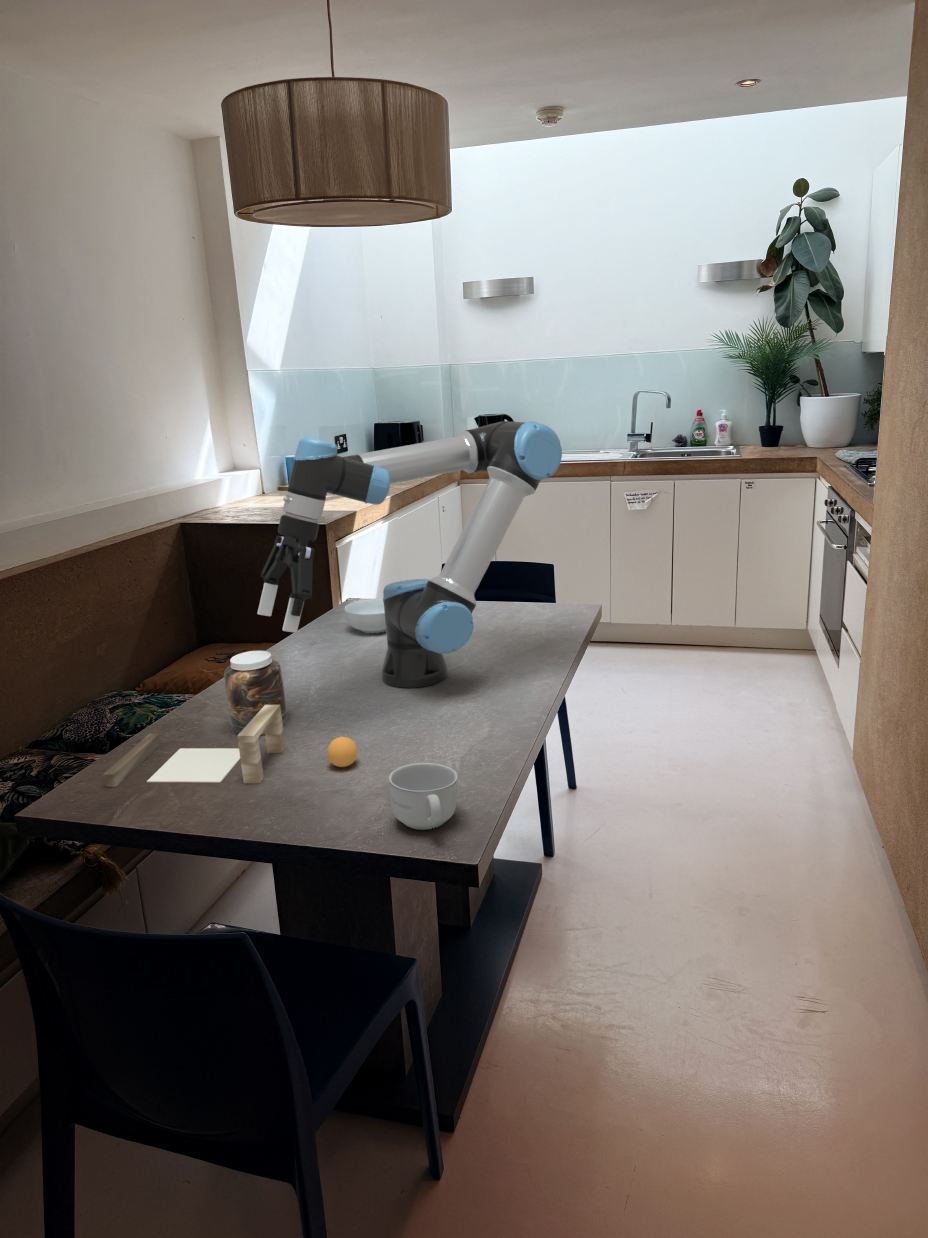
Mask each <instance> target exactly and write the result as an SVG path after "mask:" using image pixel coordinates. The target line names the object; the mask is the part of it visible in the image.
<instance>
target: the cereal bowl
mask: <svg viewBox="0 0 928 1238" xmlns="http://www.w3.org/2000/svg"><path fill="white" fill-rule="evenodd" d="M344 617H345V620H346V622H347V624H349V626H351V627H352V628H354V629H356V630H359V631H360V632H362V633H364V634H369V633H376V634H381V633H380V632H382V633H385V632H384V631H386V622H385V611H384V602H383V598H371V599H369V598H368V599H363V600H357V601H353V602H350V603H348V604H347V605H345V607H344Z"/></svg>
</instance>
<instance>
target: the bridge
mask: <svg viewBox="0 0 928 1238" xmlns="http://www.w3.org/2000/svg"><path fill="white" fill-rule="evenodd" d="M263 731H265V735H264V737H265V739H264V740H265V745H266V752H267V754H283V753H284V752H285V750H286V741H285V732H284V727H283V723H282V715H281V707H280V705H265V706H264V707H263V708H262V709H261V710H260V711H259V712H258V713H257V714H256V716H255V717H254V718H253V719H252V720H251V721H250V722H249V723H248V724H247V726H246V727H245V728H244V729H243V730H242V731H241V732H240V733H239V734H238V735H236V736H237V738H236V739H237V743H238V745H237V746H238V748H239V752H240V760H239V761H240V765H241V773H242V774H241V775H242V779H243V781H242V782H243V784H261V782H262V781H263V780H264V776H265V775H264V772H263V771H264V770H263V762H262V755H261V747H260V740H259V737H260V736H262V735H261V734H262V733H263Z"/></svg>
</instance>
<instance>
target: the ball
mask: <svg viewBox="0 0 928 1238" xmlns="http://www.w3.org/2000/svg"><path fill="white" fill-rule="evenodd" d="M326 751H327V752H326V753H327V758H328V760H329V762H330V763H331V764H332V765H333V766H336V767H339V768H346V767H348V766H350V765H352V764H354V762H355V761H356V759H357V757H358V747H357V744H356V742H355V741H354V740H353V739H352V738H350V737H346V736H338V737H336V738H334V739H333V740H332V741H331V742H330V743H329V744H328V746H327V750H326Z"/></svg>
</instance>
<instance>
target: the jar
mask: <svg viewBox="0 0 928 1238" xmlns="http://www.w3.org/2000/svg"><path fill="white" fill-rule="evenodd" d="M229 661H230V665H229V666H228V667H226V668H225V670H224V672H223V676H224V677H223V678H224V688H225V689H224V690H225V696H226V702H227V710H228V718H229V723H230V724H229V725H230V729H231V732H232V733H233V734H235V735H236V736H238V734H239V733H240V732H241V731H242V730H243V729H244V728H245V727H246V726H247V724H248V723H249V722H250V721H251V720H252V719H253V718H254V717H255V716H256V714H257V713H258V712H259V711H260V710H261V709H262V708H263V707H264V706H265V705H280V707H281V715H282V723H283V728H284V727H285V726H286V725H287V724H288V711H287V703H286V697H285V688H284V682H283V675H282V674H283V673H282V667H281V665H280V664H281V663H279V661H278V660H276V659H272V653H271V652H270V651H267V650H249V651H243V652H241V653H237V654H236V655H234V656H232V657H231V658H230V660H229ZM260 736H265V731H263V733H262V734H261V735H260Z"/></svg>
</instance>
